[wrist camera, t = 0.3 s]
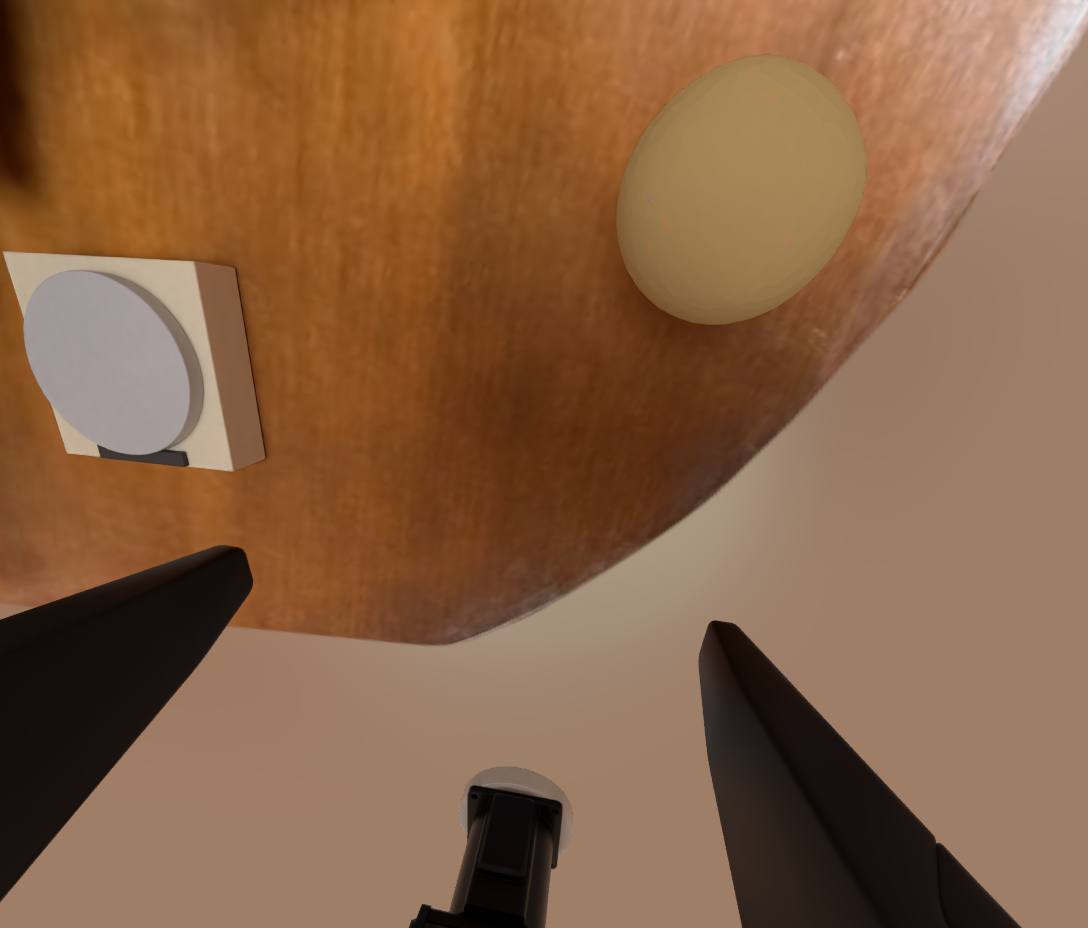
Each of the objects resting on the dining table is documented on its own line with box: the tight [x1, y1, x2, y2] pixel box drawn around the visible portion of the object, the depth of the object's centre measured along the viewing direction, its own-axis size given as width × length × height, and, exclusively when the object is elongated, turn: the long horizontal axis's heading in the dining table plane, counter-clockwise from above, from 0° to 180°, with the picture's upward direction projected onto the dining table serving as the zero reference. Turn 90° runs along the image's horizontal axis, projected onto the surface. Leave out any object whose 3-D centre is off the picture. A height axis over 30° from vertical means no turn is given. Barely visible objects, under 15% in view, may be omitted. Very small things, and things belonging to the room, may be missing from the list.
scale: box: [3, 251, 265, 471], centre depth 23 cm, size 10×10×3 cm
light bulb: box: [616, 54, 867, 325], centre depth 14 cm, size 6×6×10 cm
